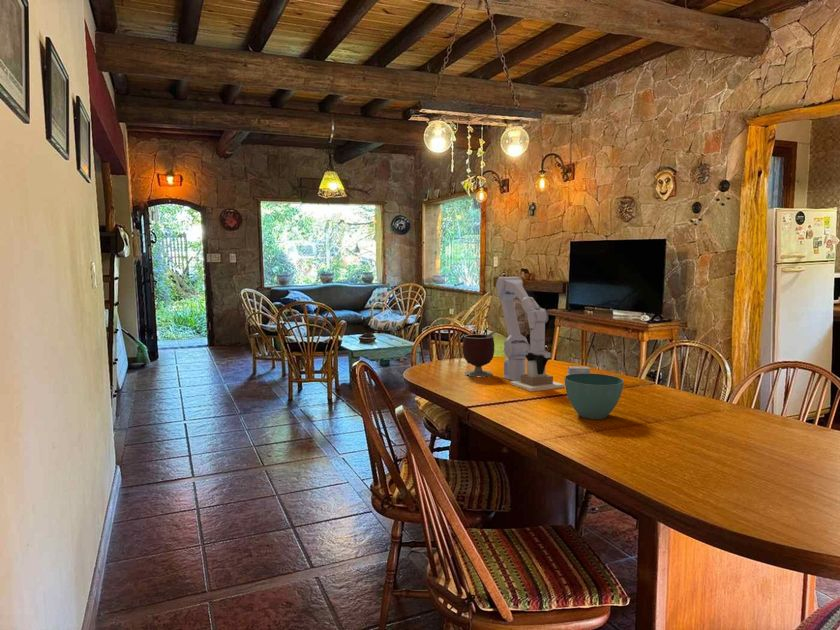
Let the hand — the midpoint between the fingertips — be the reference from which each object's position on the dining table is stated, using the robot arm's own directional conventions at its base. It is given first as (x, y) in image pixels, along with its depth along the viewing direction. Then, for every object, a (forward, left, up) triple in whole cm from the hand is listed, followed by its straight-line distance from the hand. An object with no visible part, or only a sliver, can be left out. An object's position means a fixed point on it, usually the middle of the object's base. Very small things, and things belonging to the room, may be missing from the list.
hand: (536, 373), depth 229 cm
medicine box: (+12, +11, -6) cm, 17 cm away
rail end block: (0, 0, -2) cm, 2 cm away
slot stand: (0, 0, -5) cm, 5 cm away
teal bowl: (+44, -11, -5) cm, 46 cm away
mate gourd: (-30, -8, -5) cm, 32 cm away
